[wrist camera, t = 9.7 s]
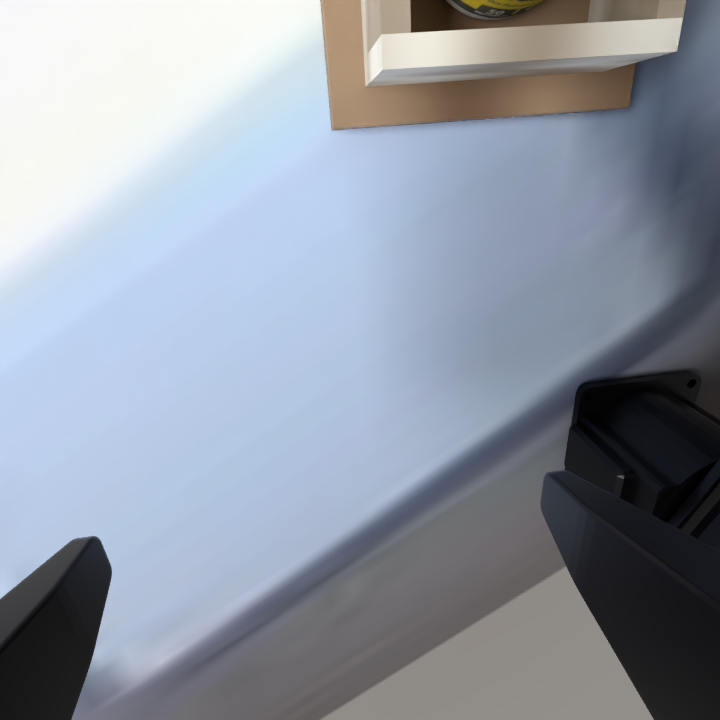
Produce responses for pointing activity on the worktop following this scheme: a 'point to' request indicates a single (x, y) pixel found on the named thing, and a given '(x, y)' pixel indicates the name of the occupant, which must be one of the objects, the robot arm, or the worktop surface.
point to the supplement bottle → (493, 8)
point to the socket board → (487, 58)
